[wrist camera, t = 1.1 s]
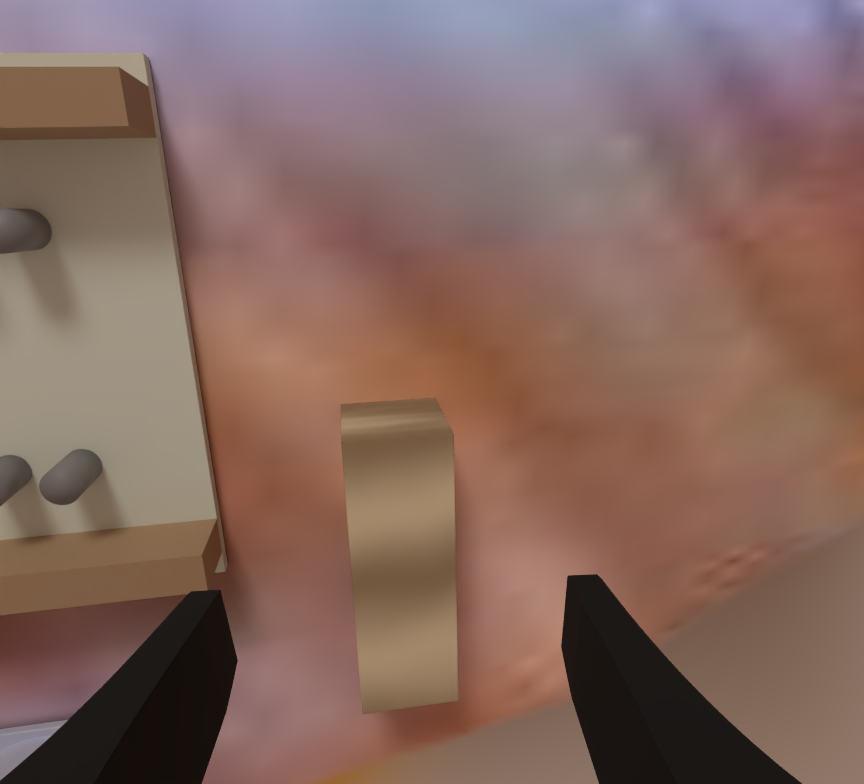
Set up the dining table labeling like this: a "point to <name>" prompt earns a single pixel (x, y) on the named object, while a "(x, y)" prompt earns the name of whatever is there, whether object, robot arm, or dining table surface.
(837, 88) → the dining table surface
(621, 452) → the dining table surface
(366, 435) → the tan wooden block
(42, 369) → the peg plate
